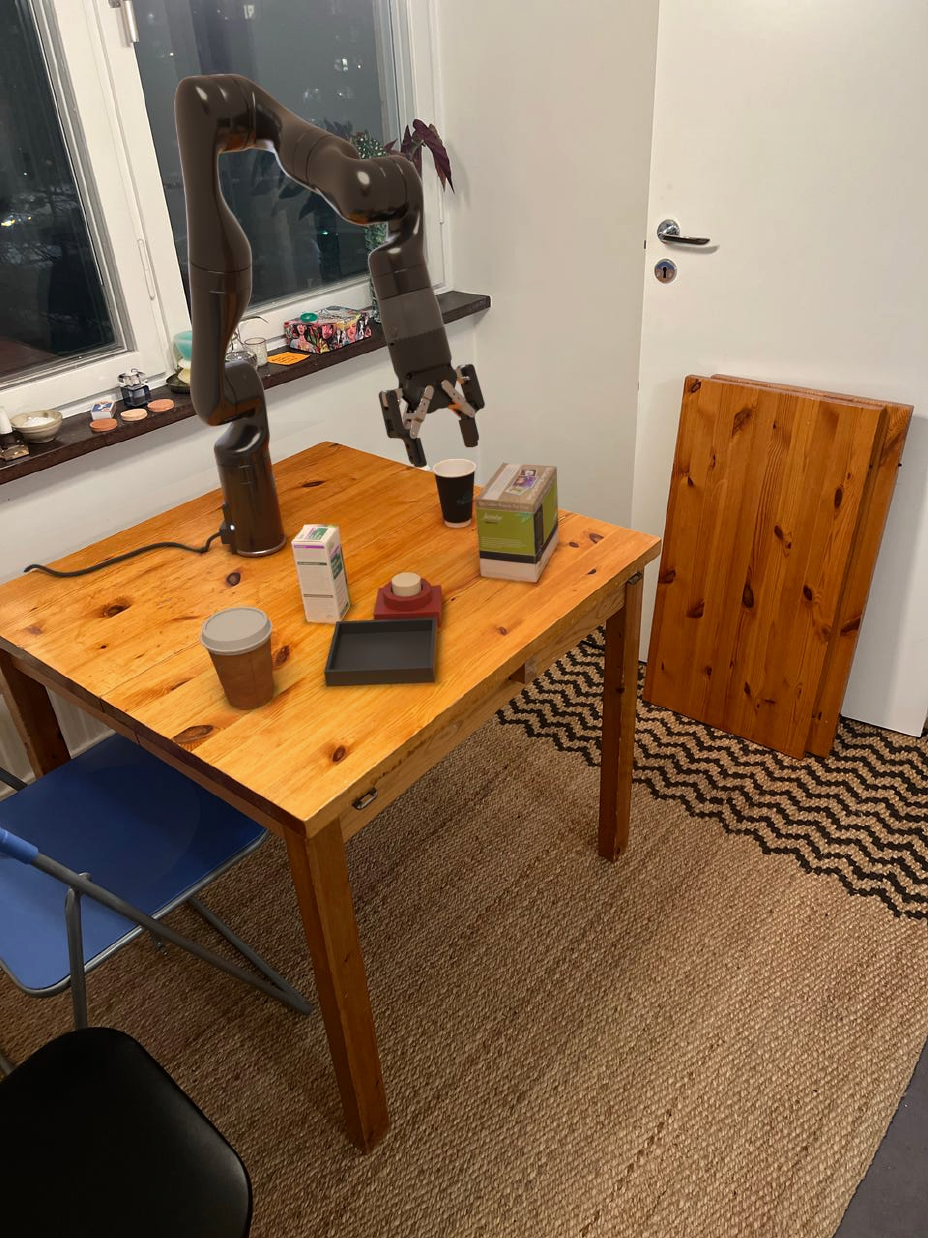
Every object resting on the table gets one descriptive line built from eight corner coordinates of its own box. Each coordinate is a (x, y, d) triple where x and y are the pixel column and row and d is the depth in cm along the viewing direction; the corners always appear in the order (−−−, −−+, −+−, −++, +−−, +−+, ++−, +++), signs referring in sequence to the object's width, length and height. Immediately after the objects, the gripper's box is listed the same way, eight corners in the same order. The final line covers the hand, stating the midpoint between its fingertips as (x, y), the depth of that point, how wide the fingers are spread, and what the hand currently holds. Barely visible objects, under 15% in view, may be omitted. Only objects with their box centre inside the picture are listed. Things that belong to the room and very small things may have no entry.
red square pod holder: (375, 630, 140) (372, 602, 137) (380, 603, 146) (376, 576, 144) (440, 628, 139) (438, 600, 137) (442, 601, 146) (440, 573, 143)
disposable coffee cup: (221, 679, 131) (204, 608, 125) (288, 673, 131) (274, 601, 125) (211, 720, 123) (192, 646, 117) (282, 713, 123) (267, 639, 117)
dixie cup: (473, 532, 166) (469, 476, 160) (431, 529, 168) (426, 474, 162) (483, 514, 172) (480, 459, 167) (443, 511, 174) (439, 457, 168)
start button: (391, 598, 139) (390, 587, 138) (394, 583, 142) (392, 572, 141) (420, 597, 138) (419, 585, 137) (422, 582, 142) (421, 571, 141)
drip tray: (326, 687, 128) (324, 672, 127) (338, 635, 139) (336, 621, 138) (434, 682, 127) (433, 667, 126) (437, 631, 139) (436, 616, 137)
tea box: (505, 537, 164) (502, 460, 156) (560, 543, 160) (559, 464, 153) (478, 577, 152) (473, 496, 144) (536, 585, 149) (535, 502, 141)
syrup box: (340, 624, 142) (327, 541, 134) (304, 622, 143) (290, 540, 135) (351, 605, 146) (340, 524, 139) (317, 603, 148) (303, 522, 140)
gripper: (442, 321, 121) (471, 440, 126) (352, 347, 114) (387, 473, 119) (476, 314, 115) (505, 440, 120) (383, 341, 108) (418, 474, 113)
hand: (446, 456), depth 120 cm, fingers open, 8 cm apart
